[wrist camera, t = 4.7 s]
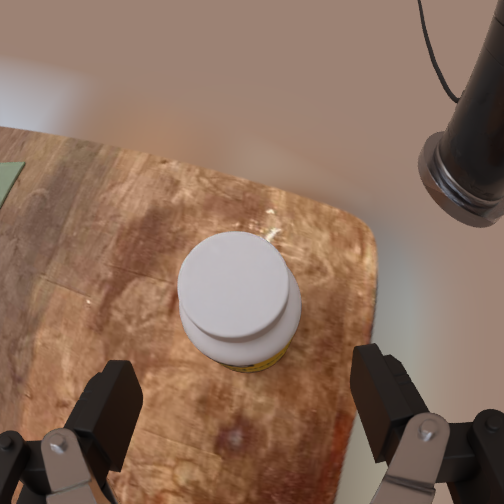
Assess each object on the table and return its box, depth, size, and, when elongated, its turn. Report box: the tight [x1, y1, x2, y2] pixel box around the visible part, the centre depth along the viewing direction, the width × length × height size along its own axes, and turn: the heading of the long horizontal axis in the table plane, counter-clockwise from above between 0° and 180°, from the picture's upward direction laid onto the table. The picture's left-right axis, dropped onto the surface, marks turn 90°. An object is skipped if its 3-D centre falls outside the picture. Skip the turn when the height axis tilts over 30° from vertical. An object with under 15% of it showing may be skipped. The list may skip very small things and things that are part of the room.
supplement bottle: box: [177, 231, 302, 373], centre depth 15 cm, size 5×5×10 cm
